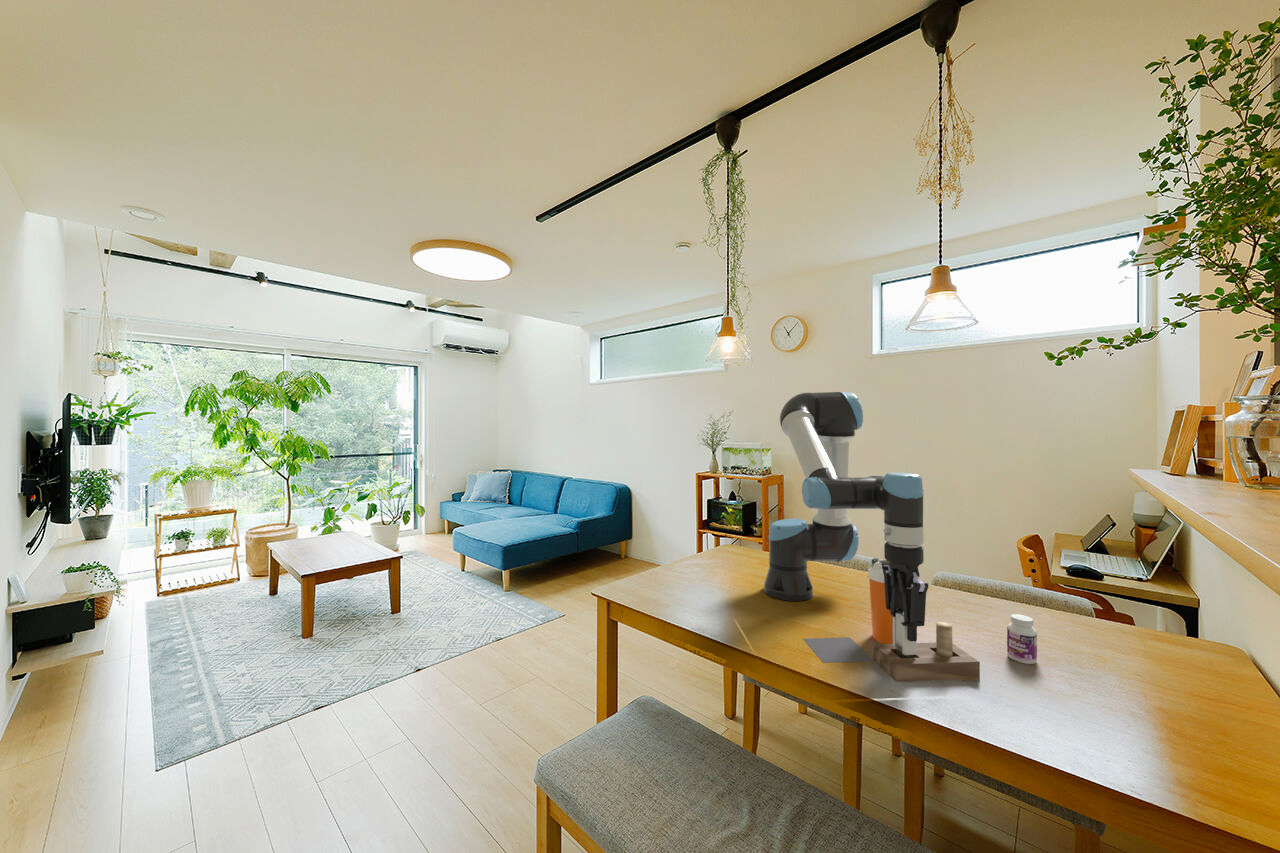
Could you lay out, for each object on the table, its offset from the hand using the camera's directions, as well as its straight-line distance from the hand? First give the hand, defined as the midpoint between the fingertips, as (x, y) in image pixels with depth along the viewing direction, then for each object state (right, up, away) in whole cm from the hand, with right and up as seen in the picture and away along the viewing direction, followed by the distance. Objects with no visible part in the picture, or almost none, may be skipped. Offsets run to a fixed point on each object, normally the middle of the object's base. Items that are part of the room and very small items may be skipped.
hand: (904, 649), depth 103 cm
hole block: (+5, -5, 0) cm, 7 cm away
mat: (-11, -5, +10) cm, 15 cm away
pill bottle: (+30, -5, +5) cm, 31 cm away
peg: (0, -4, 0) cm, 4 cm away
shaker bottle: (+4, -5, +15) cm, 16 cm away
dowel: (+9, -5, 0) cm, 10 cm away
